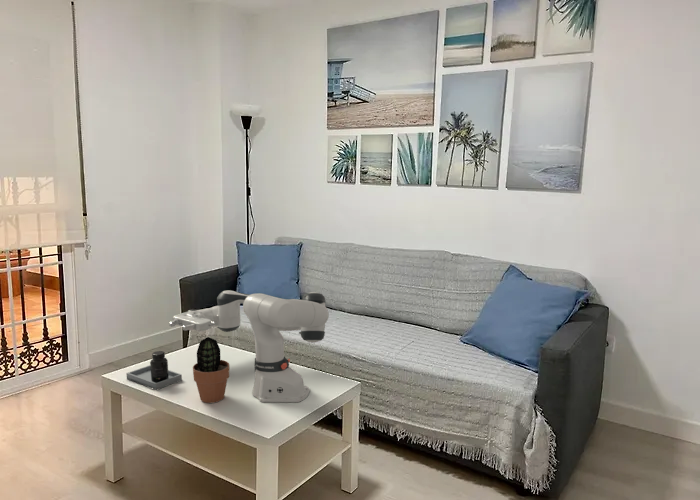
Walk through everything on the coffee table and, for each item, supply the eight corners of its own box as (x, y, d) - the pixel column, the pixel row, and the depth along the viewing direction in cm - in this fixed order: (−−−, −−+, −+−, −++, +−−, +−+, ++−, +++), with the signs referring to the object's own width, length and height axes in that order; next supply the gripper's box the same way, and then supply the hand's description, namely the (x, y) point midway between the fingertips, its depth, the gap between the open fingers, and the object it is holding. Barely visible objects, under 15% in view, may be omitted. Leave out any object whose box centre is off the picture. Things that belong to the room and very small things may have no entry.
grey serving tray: (181, 380, 224) (181, 374, 224) (156, 390, 214) (156, 384, 214) (152, 369, 236) (152, 364, 235) (126, 378, 226) (126, 373, 225)
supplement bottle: (153, 377, 225) (151, 350, 223) (170, 376, 226) (168, 349, 224) (149, 384, 218) (148, 355, 216) (167, 383, 219) (165, 355, 217)
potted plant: (237, 395, 210) (236, 333, 206) (213, 408, 198) (211, 343, 194) (211, 388, 216) (208, 328, 212) (186, 401, 204) (183, 337, 201)
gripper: (218, 330, 237) (192, 338, 226) (189, 322, 249) (163, 329, 238) (217, 316, 236) (191, 323, 225) (188, 309, 248) (162, 315, 237)
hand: (176, 326), depth 232 cm, fingers open, 8 cm apart
